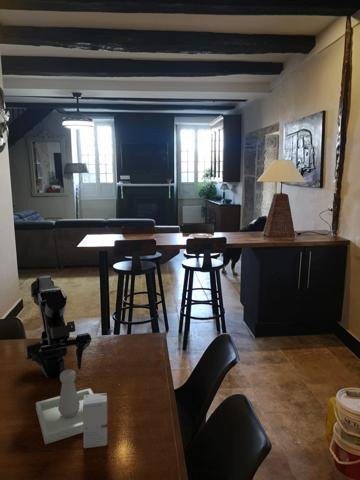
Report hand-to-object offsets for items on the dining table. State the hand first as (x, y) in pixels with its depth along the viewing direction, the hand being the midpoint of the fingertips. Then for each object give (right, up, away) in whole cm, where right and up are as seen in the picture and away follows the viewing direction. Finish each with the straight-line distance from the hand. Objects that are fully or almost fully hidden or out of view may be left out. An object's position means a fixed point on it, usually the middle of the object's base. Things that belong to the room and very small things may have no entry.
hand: (63, 373), depth 108 cm
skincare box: (+12, -13, -13) cm, 22 cm away
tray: (+3, -11, -4) cm, 12 cm away
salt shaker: (+3, -10, -4) cm, 11 cm away
